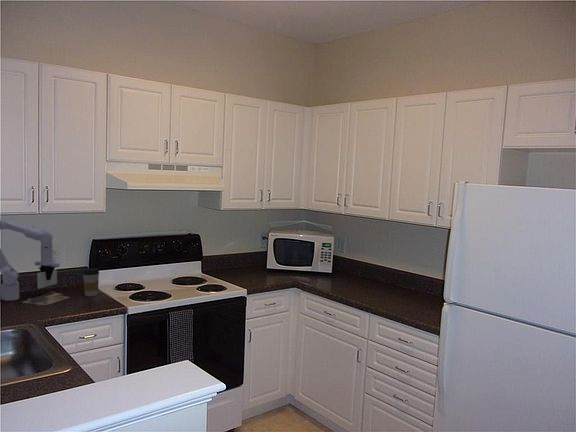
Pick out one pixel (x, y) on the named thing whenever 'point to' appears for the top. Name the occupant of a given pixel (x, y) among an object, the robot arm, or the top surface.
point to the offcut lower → (54, 300)
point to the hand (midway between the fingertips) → (47, 279)
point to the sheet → (43, 281)
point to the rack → (40, 299)
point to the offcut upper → (53, 296)
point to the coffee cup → (91, 281)
